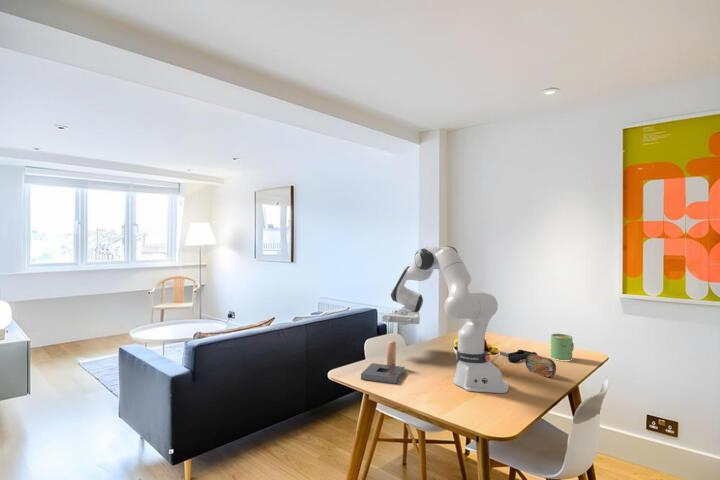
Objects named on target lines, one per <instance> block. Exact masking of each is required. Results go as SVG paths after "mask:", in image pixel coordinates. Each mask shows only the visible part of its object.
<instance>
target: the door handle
mask: <svg viewBox="0 0 720 480" xmlns="http://www.w3.org/2000/svg"><path fill="white" fill-rule="evenodd" d="M499 352H500V356H502V355H503V356H502V357H505V356H506V357H505V358H507V360H508V362H510V363H516V362H523V361H522V360H525V361H526V357H527V356H528V355H530V354H536V355H538V354H537V352H536V351H530V350H529V351H528V350H523V349H518V350H517V351H514V352H505V351H501V350H500V351H499Z"/></svg>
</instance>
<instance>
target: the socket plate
mask: <svg viewBox="0 0 720 480" xmlns="http://www.w3.org/2000/svg"><path fill="white" fill-rule="evenodd" d="M405 370H406V367H405V366H400V365H398V366H397V365H395V366H392V365H387V364H382V363H374V362H371V364H369V366H367V367H366V368H365V369H364V370H363V371H362V372H361V373H360V380H365V381H372V382H376V383H377V382H378V383H386V384H393V385H397V383H398V382H399V381H400V380H401V378H402V377H403V376H404V374H405V372H406V371H405Z"/></svg>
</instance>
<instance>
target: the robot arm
mask: <svg viewBox="0 0 720 480" xmlns="http://www.w3.org/2000/svg"><path fill="white" fill-rule="evenodd" d="M434 270H440V273H441V275H442V277H443V280H444V282H445V284H446V287H447V289H448V295H447V298H446V299H445V301H444V311H445V314H446V316H447V317H448V318H449V319H451V320H456V321H457V320H458V321H465V323H464V324H463V326H462V327H461V328H460V329H459V330H458V331H457V349H456V355H455V356H456V358H455V359H456V369H455V375H454V379H453V384H454V385H456V386H458V387H460V388H462V389H464V390H466V391H468V392H479V393H480V392H481V393H492V394H493V393H494V394H495V393H496V394H506V393H507V392H508V391H509V384H508V382H507V381H506V380H504V377H503V374H502V372H501V370H500V369H499V368H498V367H497V366H496V365H495V364H493V363H492V362H491V357H490V354H489V352H487V351H485V337H486V336H485V335H486V332H487V331H486V330H487V327H488V325H489V322H490V321H491V319H492V317H493V316H494V315H495V314H496V313H497V312H498V307H499V304H498V301H497V298H496V297H495V296H494V295H492V294H491V293H486V292H472V293H471V292H470V291H469V286H470V284H471V281H472V277H471V274H470V273H469V271H468V268H467V266H466V264H465V263H464V262H463V259H462V258H461V256H460V255H459V252H458V251H457V249H456V248H455V247H454V246H450V245H449V246H448V245H447V246H433V247H432V246H430V247H429V246H423V247H421V248H419V249H418V250H417V251H416V252H415V254H414V260H413V263H412V265H408V266H406V267H405V268H404V270H403V272H402V273H401V275H400V276H399V279H398V281H397V282H396V284H395V286H394V287H393V288H392V290H391V292H390V297H391V299H392V302H396V303H398V304H400V305H403V306H402V307H401V308H400V309H398V310H397V311H396V312H394V313H392V312H386V313H383V314H382V315H381V321H382V322H383V323H384V322H386V323H395V324H396V323H397V324H398V325H402V326H405V325H419V324H420V322H421V319H420V318H421V317H420V310H421V309H422V306H423V304H424V298H423V295H422V294H421V293H418V292H417V291H414V290H412V289H411V288H408V287H406V286H405V284H406V282H407V281H408V280H409V281H418V282H423V281H426V280H428V279H430V277H431V276H432V274H433V272H434Z"/></svg>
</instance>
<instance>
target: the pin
mask: <svg viewBox="0 0 720 480" xmlns="http://www.w3.org/2000/svg"><path fill="white" fill-rule="evenodd" d="M386 343H387V345H386V348H387V349H386V350H387V352H386V355H387V357H386V358H387V359H386V361H387V362H386V365H392V366H396V358H397V357H396V356H397V355H396V354H397V353H396V349H397V348H396V341H394V340H388V341H387V342H386Z"/></svg>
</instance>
